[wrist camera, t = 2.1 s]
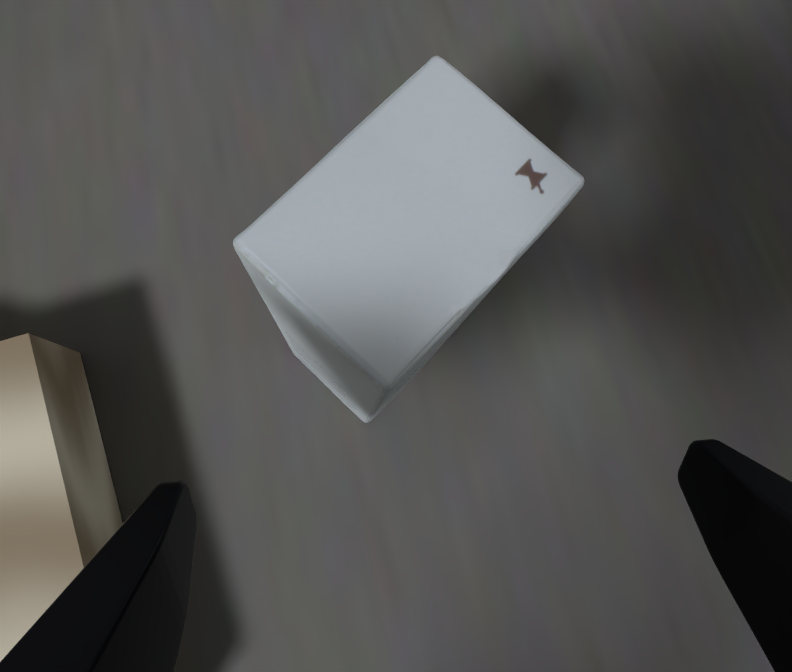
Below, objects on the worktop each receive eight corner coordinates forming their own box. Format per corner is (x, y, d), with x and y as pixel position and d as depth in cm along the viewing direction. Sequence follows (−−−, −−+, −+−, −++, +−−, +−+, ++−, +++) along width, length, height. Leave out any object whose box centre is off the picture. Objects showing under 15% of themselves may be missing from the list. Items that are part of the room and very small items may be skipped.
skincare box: (390, 252, 23) (442, 41, 11) (464, 320, 22) (600, 177, 11) (286, 355, 21) (221, 237, 10) (364, 429, 21) (394, 400, 9)
